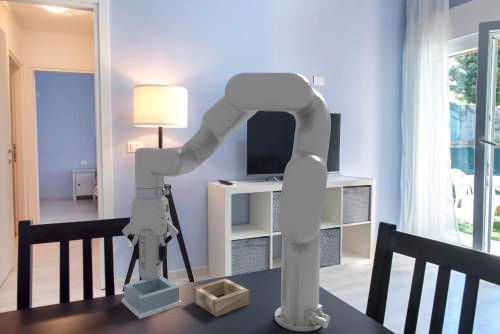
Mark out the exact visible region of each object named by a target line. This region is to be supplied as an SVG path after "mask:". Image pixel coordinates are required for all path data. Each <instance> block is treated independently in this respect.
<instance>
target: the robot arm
mask: <svg viewBox="0 0 500 334" xmlns="http://www.w3.org/2000/svg"><path fill="white" fill-rule="evenodd" d="M224 87H225V88H224V95H223V96H222V97H220V98H219V99H218V101H216V102H215V103H213V105H212V106H211V107H210V108H208V110H206V111H205V112H203V113H204V114H203V115H202V118H201V124H200V127H199V129H198V130H197V132H196V133H195V134H194V135H193V136H192V137H191V138H190V139H189V140H187V142H185V143H184V144H183V145H182V146H176V147H175V146H174V147H167V148H166V147H165V148H160V147H139V148H137V149H136V150H135V152H134V187H135V188H134V192H135V193H134V196H135V197H134V198H132V202H131V207H130V218H129V223H127V224H126V226H124V228H122V230H121V232H122V234H123V235H124V236H126V238H127V239H128V241H130V242H131V244H132V246H133V255H134V259H135V261H137V260H138V261H139V234H140V231H141V230H142V229H144V228H150V229H151V230H153V231H154V232H155V235H156V236H158V238H159V241H160V243H161V246H159V260H160V261H162V262H163V260H165V258H166V257H167V256H168V243H170V241H172V240H173V239H174V237H176V236H177V235H178V234H179V230H178V229H177V228H176V227H175V226H174V225H173V223H172V222H171V213H170V205H169V199H168V198H167V197H165V196H166V195H170V189H166V186H165V177H171V178H173V177H174V178H175V177H178V176H182V175H186V174H189V173H192V172H193V171H195V170H196V169H197V168H199V167H200V166H201V165H202V164H203V163H204V162H205V161H207V160H208V159H209V158H210V157H211V156H212V155H213V154H214V153H215V152H216V151H218V149H219V148H220V147H221V146H222V145H223V143H224V142H225V141H226V140H228V138H229V137H230V136H231V135H232V134H234V132H236V131H238V129H239V128H241V126H243V125H244V124H245V123H246V122H247V121H248V120H250V119H251V118H252V117H254V115H255V114H256V113H258V112H261V111H262V112H263V111H264V112H286V113H288V114H290V115H292V116H293V117H294V120H295V131H294V137H293V147H292V152H291V153H292V154H291V157H290V160H289V161H288V163H287V164H286V166H285V168H284V173H283V178H282V185H281V194H280V199H279V200H280V201H279V205H278V206H279V207H278V215H277V226H278V227H277V228H278V229H279V233H280V234H281V266H280V267H281V268H280V269H281V271H280V272H281V273H280V274H281V275H280V277H281V280H280V282H281V283H280V306H279V307H278V308H277V309H275V311H274V320H275V321H276V323H277V324H278V325H280V326H281V327H283V328H285V329H287V330H290V331H294V332H312V331H313V332H314V331H316V330H318V329H320V328H324V329H327V328H328V326H329V324H330V323H329V322H330V321H331V316H330V315H328V314H326V313H324V312H323V305H322V304H320V276H321V275H320V267H321V265H320V264H321V236H322V235H321V230H322V217H323V213H324V212H323V210H324V204H325V199H326V198H325V197H326V191H327V183H328V175H329V173H328V166H327V165H328V164H327V163H328V155H329V148H330V140H331V131H332V129H331V128H332V120H331V119H332V118H331V113H330V109H329V105H328V104H327V102H326V100H325V98H323V96H322V95H321V94H320V93H319V92H318V91H317V90H315V89H314V88H313V87H312V85H311V82H310V81H309V80H308V79H307V78H306V77H305V76H304V75H301V74H299V73H295V72H240V73H237V74H235V75H233V76H231V78H230V79H228V81H227V82H226V85H225V86H224ZM146 226H148V227H146ZM168 232H170V234H169V235H168V236H167V233H168Z"/></svg>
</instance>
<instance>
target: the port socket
mask: <svg viewBox="0 0 500 334" xmlns="http://www.w3.org/2000/svg"><path fill="white" fill-rule="evenodd" d="M123 296H124V297H123V298H122V299H121V303H122V304H123V305H124V306H125V307H126V308H128V309H129V311H131V312H132V313H133V314H134V315H135V316H136V317H137V318H138V319H140V320H141V319H143V318H147V317H149V316H152V315H156V314H159V313H161V312H166V311H168V310H171V309H174V308H177V307H179V306H180V307H181V306H182V304H183V302H182V300H180V287H179V286H178V285H176V283H173V282H172V281H170V280H168V279H167V278H165V277H164V276H163V275H162V274H161V275H160V278H159V279H157V280H154V281H144V280H142V279H141V280H138V281H134V282H130V283H126V284H124V285H123Z"/></svg>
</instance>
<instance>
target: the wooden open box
mask: <svg viewBox="0 0 500 334" xmlns="http://www.w3.org/2000/svg"><path fill="white" fill-rule="evenodd" d="M223 294H224V295H223ZM220 295H221V296H220ZM217 296H218V297H217ZM193 303H194V304H196V305H198V306H200V307H201V308H202V309H204V310H206V311H207V312H208V313H209V314H211V315H213V316H215V318H216V317H217V318H218V317H219V316H222V315H224V314H225V315H226V314H227V313H230V312H232V311H235V310H237V309H240V308H242V307H245V306H248V305H250V290H249V289H248V288H245V287H243V286H241V285H240V284H238V283H236V282H233V280H232V281H231V280H230V279H228V278H223V279H218V280H215V281H212V282H209V283H208V282H207V283H205V284H202V285H198V286H196V287H193Z"/></svg>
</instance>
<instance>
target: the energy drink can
mask: <svg viewBox="0 0 500 334" xmlns="http://www.w3.org/2000/svg"><path fill="white" fill-rule="evenodd" d="M146 227H148V226H146ZM159 246H161V243H160V241H159V238H158V236H156V235H155V232H154V231H153V230H151V229H150V228H144V229H142V230H141V231H140V234H139V259H138V270H139V271H138V276H139V278H141V280H144V281H154V280H157V279H159V278H160V275H161V276H162V274H163V260H162V261H160V260H159Z"/></svg>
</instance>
